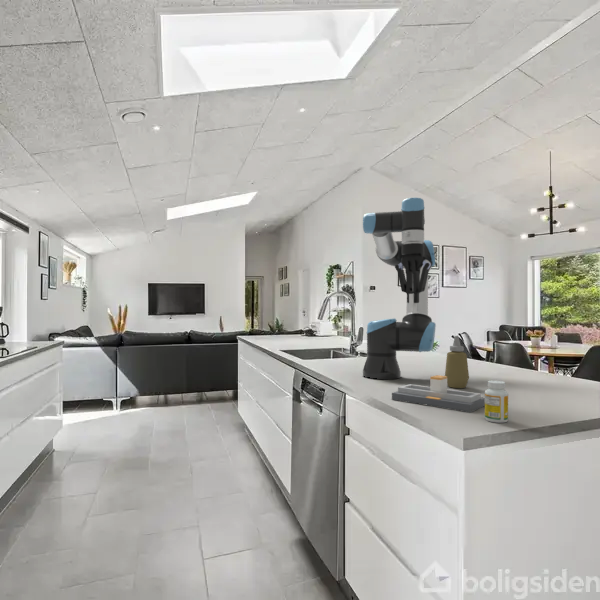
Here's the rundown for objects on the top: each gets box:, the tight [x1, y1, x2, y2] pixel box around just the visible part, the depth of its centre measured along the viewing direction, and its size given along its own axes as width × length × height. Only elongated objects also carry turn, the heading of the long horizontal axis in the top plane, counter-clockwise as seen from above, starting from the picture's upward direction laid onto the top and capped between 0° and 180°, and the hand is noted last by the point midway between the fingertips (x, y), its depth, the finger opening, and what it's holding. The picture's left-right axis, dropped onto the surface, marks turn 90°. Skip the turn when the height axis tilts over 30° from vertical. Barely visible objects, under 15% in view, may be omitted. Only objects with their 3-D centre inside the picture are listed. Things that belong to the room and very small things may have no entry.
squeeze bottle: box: [444, 335, 470, 389], centre depth 156 cm, size 8×8×18 cm
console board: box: [391, 383, 485, 413], centre depth 131 cm, size 24×12×4 cm, turn 48°
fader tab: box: [429, 374, 448, 393], centre depth 131 cm, size 3×4×5 cm
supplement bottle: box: [484, 380, 509, 424], centre depth 110 cm, size 5×5×10 cm
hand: (413, 312), depth 151 cm, fingers closed
